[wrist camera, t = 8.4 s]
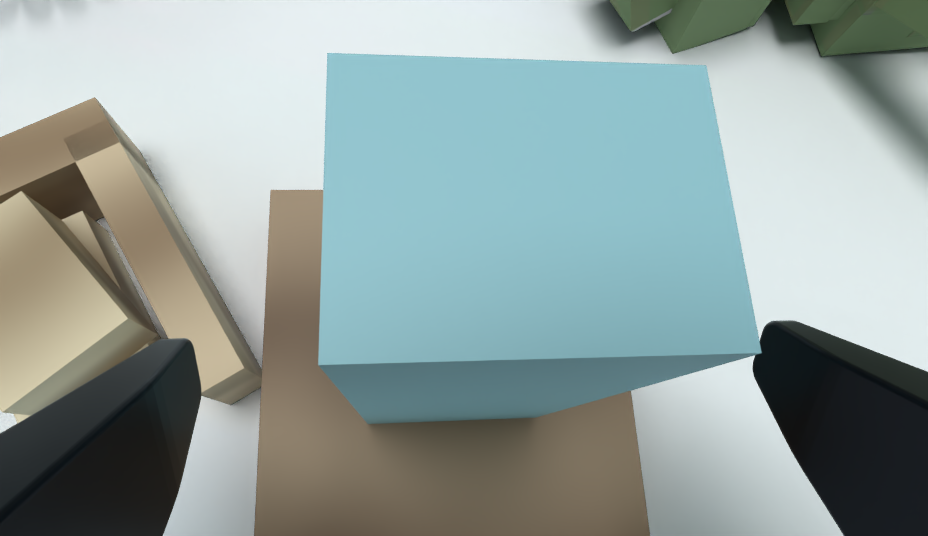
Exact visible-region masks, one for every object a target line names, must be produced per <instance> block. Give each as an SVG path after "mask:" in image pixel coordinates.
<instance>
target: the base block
mask: <svg viewBox="0 0 928 536" xmlns="http://www.w3.org/2000/svg"><path fill="white" fill-rule="evenodd" d="M322 221H323V190H271V194H270V215H269V236H268V257H267V278H266V298H265V319H264V340H263V361H262V382H261V403H260V423H259V444H258V465H257V486H256V507H255V528H254V536H650V531H649V524H648V517H647V509H646V502H645V494H644V487H643V479H642V472H641V464H640V457H639V449H638V442H637V434H636V427H635V419H634V412H633V404H632V397H631V391H627V392H624V393H620V394H617V395H613V396H610V397H606V398H603V399H599V400H596V401H592V402H589V403H585V404H582V405H578V406H575V407H571V408H568V409H564V410H561V411H557V412H554V413H550V414H547V415H543V416H540V417H536V418H512V419H486V420H460V421H434V422H408V423H382V424H367V423H366V421H365V420H364V419H363V418H362V417H361V415H360V414H359V413H358V412H357V411H356V410H355V408H354V407H353V406H352V405H351V404H350V402H349V401H348V400H347V399H346V398H345V396H344V395H343V394H342V393H341V392H340V390H339V389H338V388H337V387H336V386H335V384H334V383H333V382H332V381H331V380H330V378H329V377H328V376H327V375H326V374H325V373H324V371H323V370H322V369H321V368H320V367H319V365H318V357H319V323H320V289H321V255H322Z"/></svg>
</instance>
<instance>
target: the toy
mask: <svg viewBox="0 0 928 536" xmlns="http://www.w3.org/2000/svg"><path fill="white" fill-rule="evenodd" d="M609 1H610V2H611V4H612V5H613V7H614V8H615V9H616V11H617V12H618V14H619V15H620V17H621V18H622V20H623V21H624V23H625V24H626V25H627V27H628V28H629V30H630V31H633V32H634V31H636V30H638V29H640V28H642V27H644V26H646V25H648V24H650V23H652V22H654V23H655V24H656V26H657V28H658V29H659V31H660V33H661V35H662V36H663V38H664V40H665V42H666V43H667V45H668V47H669V49H670V50H671V52H672V54H674V53H677V52H680V51H683V50H687V49H690V48H693V47H697V46H699V45H702V44H705V43H708V42H710V41H713V40H716V39H719V38H722V37H724V36H727V35H730V34H733V33H735V32H738V31H741V30H744V29H746V28H747V27H752V26H754V24H755V23H756V22H757V20H758V19H759V17H760V16H761V15H762V13H763V12H764V10H765V9H766V7H767V6H768V5H769V3H770V2H771V0H609ZM784 1H785V4H786V6H787V9H788V12H789V15H790V18H791V21H792V24H793V25H803V24H810V26H811V29H812V31H813V34H814V37H815V40H816V43H817V46H818V48H819V51H820V54H821V56H829V55H841V54H852V53H864V52H876V51H887V50H899V49H910V48H922V47H928V0H784Z"/></svg>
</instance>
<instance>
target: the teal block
mask: <svg viewBox="0 0 928 536" xmlns="http://www.w3.org/2000/svg"><path fill="white" fill-rule="evenodd" d="M760 353H762V352H761V347H760V342H759V337H758V331H757V326H756V321H755V316H754V311H753V306H752V300H751V295H750V290H749V285H748V280H747V274H746V269H745V264H744V259H743V254H742V249H741V243H740V238H739V233H738V228H737V223H736V217H735V212H734V207H733V202H732V197H731V192H730V186H729V181H728V176H727V171H726V166H725V160H724V155H723V150H722V145H721V140H720V135H719V129H718V124H717V119H716V114H715V109H714V103H713V98H712V93H711V88H710V83H709V78H708V72H707V67H706V65H678V64H647V63H617V62H586V61H555V60H525V59H494V58H463V57H433V56H402V55H371V54H341V53H327V86H326V120H325V154H324V188H323V221H322V255H321V289H320V323H319V357H318V365H319V367H320V368H321V369H322V370H323V371H324V373H325V374H326V375H327V376H328V377H329V378H330V380H331V381H332V382H333V383H334V384H335V386H336V387H337V388H338V389H339V390H340V392H341V393H342V394H343V395H344V396H345V398H346V399H347V400H348V401H349V402H350V404H351V405H352V406H353V407H354V408H355V410H356V411H357V412H358V413H359V414H360V415H361V417H362V418H363V419H364V420H365V421H366V423H367V424H382V423H408V422H434V421H460V420H486V419H512V418H536V417H540V416H543V415H547V414H550V413H554V412H557V411H561V410H564V409H568V408H571V407H575V406H578V405H582V404H585V403H589V402H592V401H596V400H599V399H603V398H606V397H610V396H613V395H617V394H620V393H624V392H627V391H631V390H634V389H638V388H641V387H645V386H648V385H652V384H655V383H659V382H662V381H666V380H669V379H673V378H676V377H680V376H683V375H687V374H690V373H694V372H697V371H701V370H704V369H708V368H711V367H715V366H718V365H722V364H725V363H729V362H732V361H736V360H739V359H743V358H746V357H750V356H753V355H757V354H760Z"/></svg>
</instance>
